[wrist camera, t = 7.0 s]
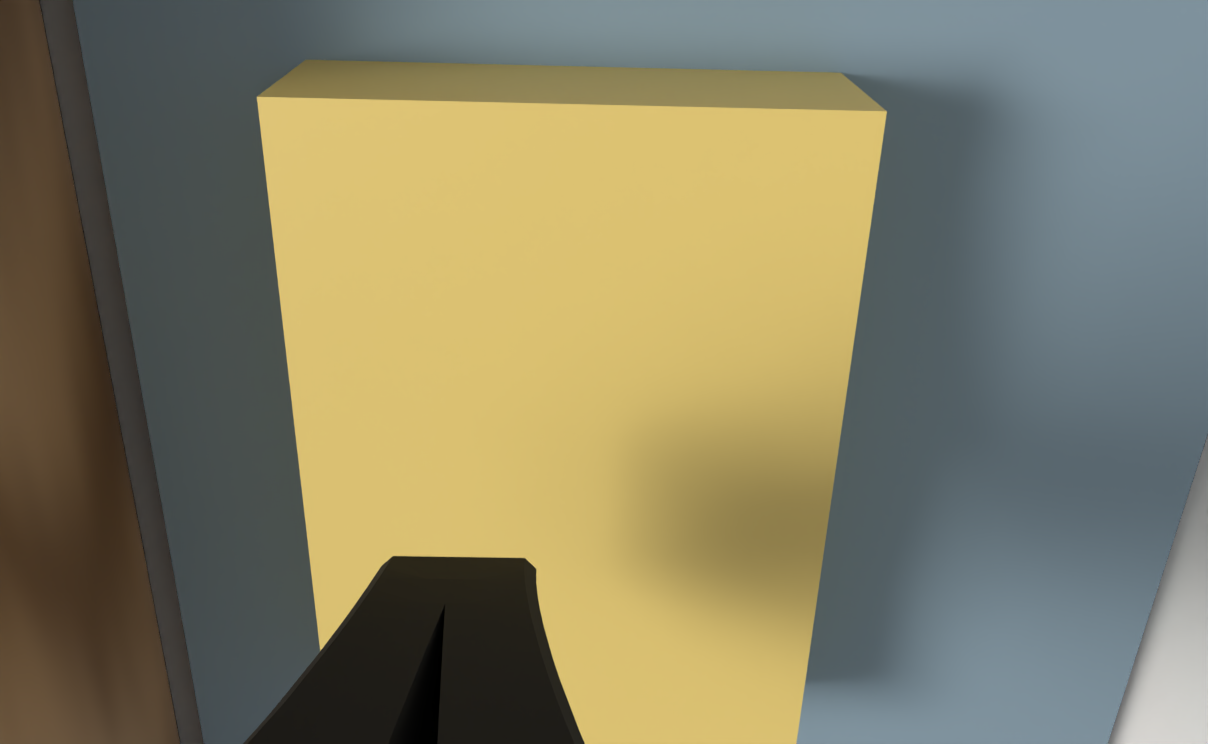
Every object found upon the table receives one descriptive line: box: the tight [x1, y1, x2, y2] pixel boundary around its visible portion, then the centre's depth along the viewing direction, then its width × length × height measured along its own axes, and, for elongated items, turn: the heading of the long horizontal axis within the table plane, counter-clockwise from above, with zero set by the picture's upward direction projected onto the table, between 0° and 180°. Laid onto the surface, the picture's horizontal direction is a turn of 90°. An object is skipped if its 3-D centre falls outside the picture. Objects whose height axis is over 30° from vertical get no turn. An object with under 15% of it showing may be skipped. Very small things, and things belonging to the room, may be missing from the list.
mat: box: [73, 0, 1208, 744], centre depth 14 cm, size 18×14×1 cm
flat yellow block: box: [257, 60, 887, 744], centre depth 13 cm, size 9×6×2 cm, turn 178°
